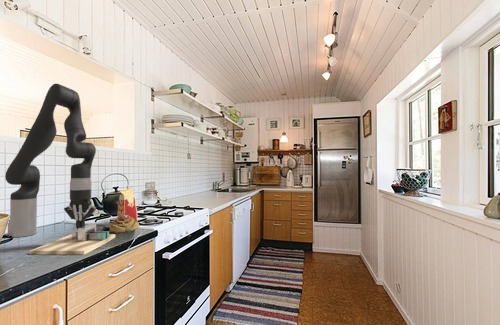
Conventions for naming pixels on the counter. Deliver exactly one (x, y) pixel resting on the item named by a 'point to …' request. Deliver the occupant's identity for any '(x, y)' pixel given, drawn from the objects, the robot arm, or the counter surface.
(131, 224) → the pastry
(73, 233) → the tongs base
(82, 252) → the board
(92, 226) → the grey l-shaped block
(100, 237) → the tong arm
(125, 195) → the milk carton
